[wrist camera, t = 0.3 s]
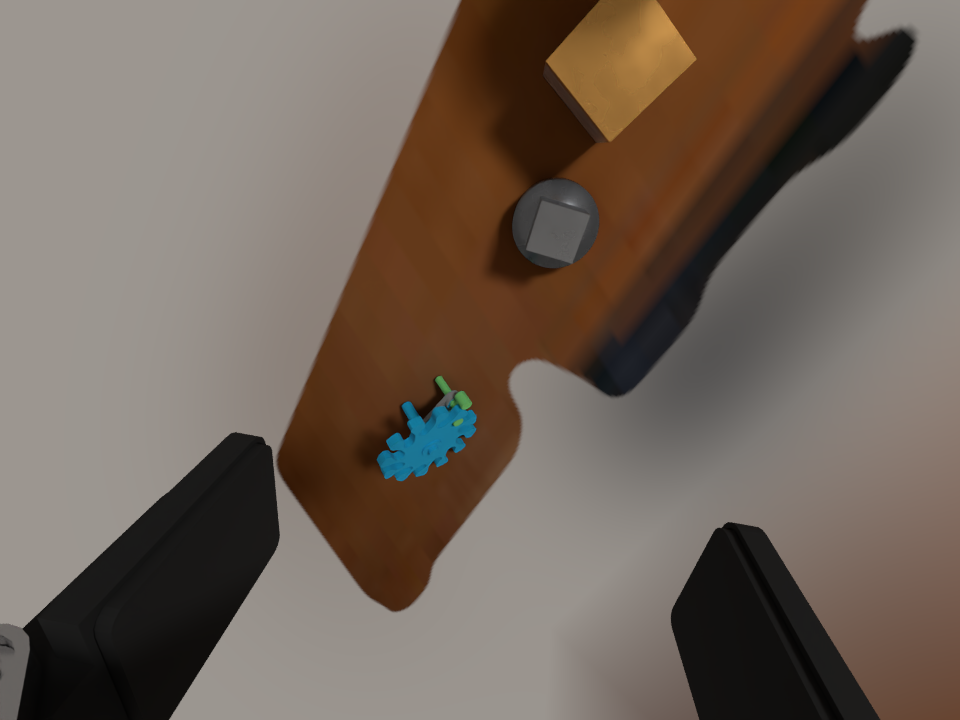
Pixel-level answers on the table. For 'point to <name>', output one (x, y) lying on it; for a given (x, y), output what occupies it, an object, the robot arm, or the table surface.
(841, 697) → the robot arm
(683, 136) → the table surface
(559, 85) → the wooden tan cube
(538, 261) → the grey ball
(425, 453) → the blue lumpy figure
